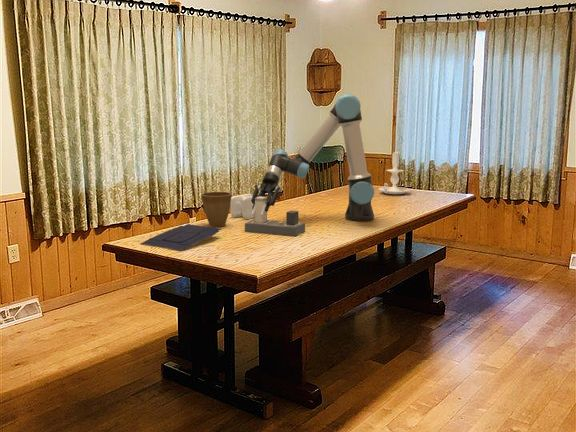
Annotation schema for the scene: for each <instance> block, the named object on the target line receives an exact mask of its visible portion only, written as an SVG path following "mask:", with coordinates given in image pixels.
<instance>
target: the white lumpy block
mask: <svg viewBox="0 0 576 432" xmlns="http://www.w3.org/2000/svg"><path fill="white" fill-rule="evenodd" d="M252 196H253V194H251V193H243V194H238V195H232V196H231V203H230V216H231V217H233V218H234V217H235V218H240V217H241V216H242V218H244V219H246V220H251V219H252V218H253V219H254V217H253V216H252V211H253V209H252V207H253V205H254V204H253V203H252V202H251V199H252ZM253 219H252V220H253Z"/></svg>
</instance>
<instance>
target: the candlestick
mask: <svg viewBox="0 0 576 432" xmlns="http://www.w3.org/2000/svg"><path fill="white" fill-rule="evenodd" d="M391 163H392V168H391V169H385V171H386V172H389V173H391V176H390V179H389V181H390V183H391V184H392V186H389V184H388V183H386V182H384V183H383V187H379V188H378V190H379V191H380V192H382V193H383V194H387V195H402V194H406V193H408V192H409V191H411V188H408V187H402V186H397V184H398V183H399V181H400V177H399V175H398V174H399V173H402V172H405V171H404V169H398V166H399V151H393V152H392V161H391Z"/></svg>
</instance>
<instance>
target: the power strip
mask: <svg viewBox="0 0 576 432" xmlns="http://www.w3.org/2000/svg"><path fill="white" fill-rule="evenodd" d="M285 219H286V220H285V221H284V220H275V219H267V222H265V223H255V218H253V219H252V220H250V221H247V222H245V223H244V232H247V233H254V234H255V233H256V234H265V235H266V234H267V235H276V236H277V235H278V236H286V237H287V236H288V237H297V236H299V235H301V234H303V233H304V232H306V222H299V210H289V211H286V218H285Z"/></svg>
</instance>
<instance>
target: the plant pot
mask: <svg viewBox="0 0 576 432" xmlns="http://www.w3.org/2000/svg"><path fill="white" fill-rule="evenodd" d="M232 194H233V193H232V192H229V191H228V192H227V191H211V192H204V193H201V194H200V196H201V200H202V201H201V202H202V206H203V211H204V213H205V216H206V219H207V222H208V224H209V226H210V227H212V228H220V227H221V228H222V227H224V226H226V223H227V220H228V217H229V212H230V210H231V207H230V203H231V197H232V196H233V195H232Z"/></svg>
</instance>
